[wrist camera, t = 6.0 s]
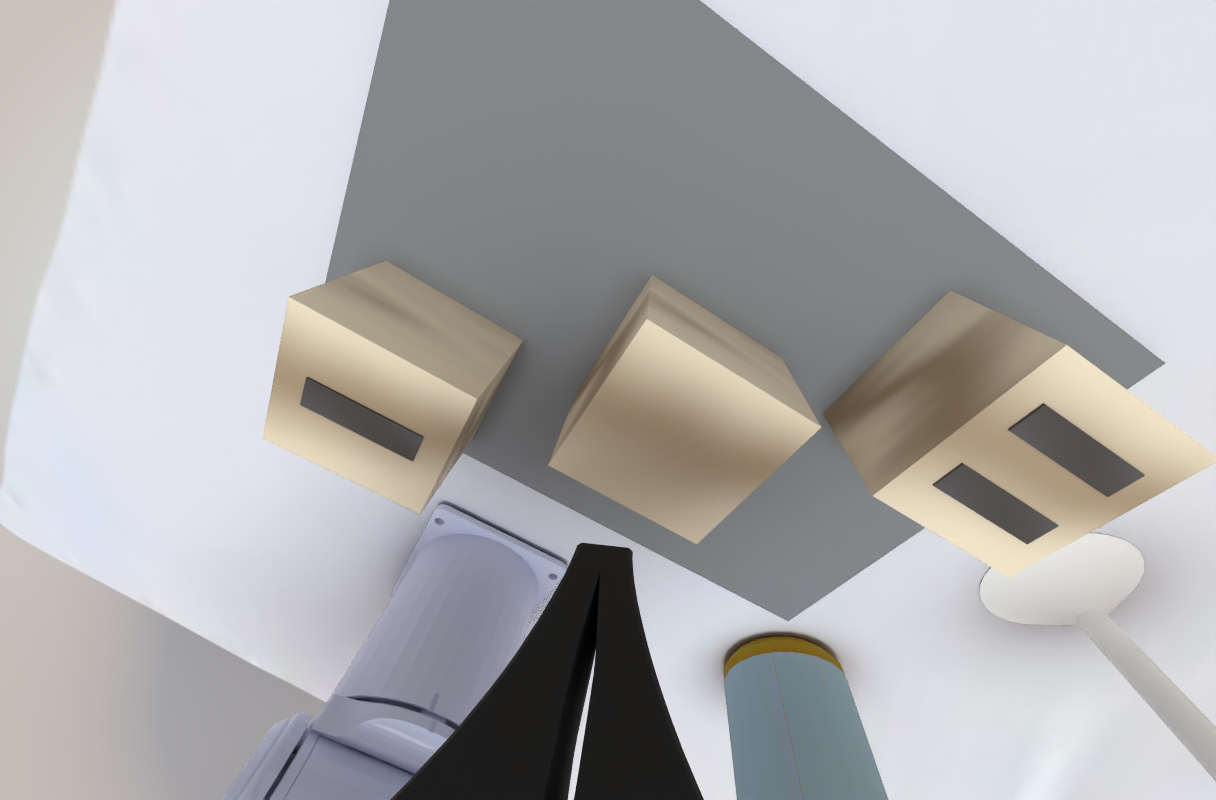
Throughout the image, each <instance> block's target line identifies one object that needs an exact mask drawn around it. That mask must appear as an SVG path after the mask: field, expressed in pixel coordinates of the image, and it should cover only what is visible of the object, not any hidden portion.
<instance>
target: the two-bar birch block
mask: <svg viewBox="0 0 1216 800" xmlns="http://www.w3.org/2000/svg"><path fill="white" fill-rule="evenodd" d="M822 414H823V415H824V417H825V419H826V420H827V422H828V423H829V425H830V427H831V428H832V430H833V432H834V433H835V435H836V437H837V438H838V440H839V442H840V443H841V445H842V446H843V448H844V450H845V451H846V453H847V455H848V456H849V458H850V460H851V461H852V463H853V464H854V466H855V468H856V469H857V471H858V473H859V474H860V476H861V478H862V479H863V481H864V482H865V484H866V486H867V487H868V489H869V491H870V492H871V494H872V496H874V497H875V498H877V499H879V500H880V501H882V502H884V503H885V504H887V505H889V506H890V507H892V508H894V509H895V510H897V511H899V512H900V513H902V514H904V515H905V516H907V517H909V518H910V519H912V520H914V521H915V522H917V523H919V524H920V525H922V526H924V527H925V528H927V529H929V530H930V531H932V532H934V533H935V534H937V535H939V536H940V537H942V538H944V539H945V540H947V541H948V542H950V543H952V544H953V545H955V546H957V547H958V548H960V549H962V550H963V551H965V552H967V553H968V554H970V555H972V556H973V557H975V558H977V559H978V560H980V561H982V562H983V563H985V564H987V565H988V566H990V567H992V568H993V569H995V570H997V571H998V572H1000V573H1002V574H1003V575H1005V576H1007V577H1008V578H1010V577H1011V576H1013V575H1015V574H1017V573H1019V572H1020V571H1022V570H1024V569H1026V568H1028V567H1029V566H1031V565H1033V564H1035V563H1037V562H1038V561H1040V560H1042V559H1044V558H1045V557H1047V556H1049V555H1051V554H1053V553H1054V552H1056V551H1058V550H1060V549H1062V548H1063V547H1065V546H1067V545H1069V544H1071V543H1072V542H1074V541H1076V540H1078V539H1079V538H1081V537H1083V536H1085V535H1087V534H1088V533H1090V532H1092V531H1094V530H1096V529H1097V528H1099V527H1101V526H1103V525H1105V524H1106V523H1108V522H1110V521H1112V520H1113V519H1115V518H1117V517H1119V516H1121V515H1122V514H1124V513H1126V512H1128V511H1130V510H1131V509H1133V508H1135V507H1137V506H1139V505H1140V504H1142V503H1144V502H1146V501H1147V500H1149V499H1151V498H1153V497H1155V496H1156V495H1158V494H1160V493H1162V492H1164V491H1165V490H1167V489H1169V488H1171V487H1173V486H1174V485H1176V484H1178V483H1180V482H1181V481H1183V480H1185V479H1187V478H1189V477H1190V476H1192V475H1194V474H1196V473H1198V472H1199V471H1201V470H1203V469H1205V468H1207V467H1208V466H1210V465H1212V464H1214V463H1215V462H1216V456H1215V455H1214V454H1212V453H1211V452H1210V451H1208V450H1207V449H1206V448H1204V447H1203V446H1202V445H1200V444H1199V443H1198V442H1196V441H1195V440H1194V439H1192V438H1191V437H1190V436H1188V435H1187V434H1186V433H1184V432H1183V431H1182V430H1180V429H1179V428H1178V427H1176V426H1175V425H1174V424H1172V423H1171V422H1169V421H1168V420H1167V419H1165V418H1164V417H1163V416H1161V415H1160V414H1159V413H1157V412H1156V411H1155V410H1153V409H1152V408H1151V407H1149V406H1148V405H1147V404H1145V403H1144V402H1143V401H1141V400H1140V399H1139V398H1137V397H1136V396H1135V395H1133V394H1132V393H1131V392H1129V391H1128V390H1127V389H1125V388H1124V387H1123V386H1121V385H1120V384H1119V383H1117V382H1116V381H1115V380H1113V379H1112V378H1111V377H1109V376H1108V375H1107V374H1105V373H1104V372H1103V371H1101V370H1100V369H1099V368H1097V367H1096V366H1095V365H1093V364H1092V363H1091V362H1089V361H1088V360H1087V359H1085V358H1084V357H1083V356H1081V355H1080V354H1078V353H1077V352H1076V351H1074V350H1073V349H1072V348H1070V347H1069V346H1068V345H1066V344H1064V343H1062V342H1060V341H1058V340H1055V339H1053V338H1051V337H1049V336H1047V335H1045V334H1043V333H1041V332H1038V331H1036V330H1034V329H1032V328H1030V327H1028V326H1026V325H1023V324H1021V323H1019V322H1017V321H1015V320H1013V319H1011V318H1008V317H1006V316H1004V315H1002V314H1000V313H998V312H996V311H994V310H991V309H989V308H987V307H985V306H983V305H981V304H979V303H976V302H974V301H972V300H970V299H968V298H966V297H964V296H961V295H959V294H957V293H955V292H953V291H950V292H949V293H947V294H946V295H945V296H944V297H943V298H942V299H941V300H940V301H939V302H938V303H937V304H936V305H935V306H934V307H933V308H932V309H931V310H930V311H929V312H928V313H927V314H926V315H925V316H923V317H922V318H921V319H920V320H919V321H918V322H917V323H916V324H915V325H914V326H913V327H912V328H911V329H910V330H909V331H908V332H907V333H906V334H905V335H904V336H903V337H902V338H900V339H899V340H898V341H897V342H896V343H895V344H894V345H893V346H892V347H891V348H890V349H889V350H888V351H887V352H886V353H885V354H884V355H883V356H882V357H881V358H880V359H879V360H878V361H876V362H875V363H874V364H873V365H872V366H871V367H870V368H869V369H868V370H867V371H866V372H865V373H864V374H863V375H862V376H861V377H860V378H859V379H858V380H857V381H856V382H855V383H854V384H852V385H851V386H850V387H849V388H848V389H847V390H846V391H845V392H844V393H843V394H842V395H841V396H840V397H839V398H838V399H837V400H836V401H835V402H834V403H833V404H832V405H831V406H830V407H828V408H827V409H826V410H825V411H824V412H823V413H822Z"/></svg>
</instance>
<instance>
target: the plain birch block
mask: <svg viewBox="0 0 1216 800" xmlns="http://www.w3.org/2000/svg"><path fill="white" fill-rule="evenodd" d="M820 428H821V425H820V424H819V422H818V420H817V419H816V417H815V415H814V413H813V412H812V410H811V408H810V406H809V405H808V403H807V401H806V399H805V398H804V396H803V394H802V392H801V391H800V389H799V387H798V386H797V384H796V382H795V380H794V379H793V377H792V375H791V373H790V372H789V370H788V368H787V366H786V365H785V363H784V361H783V359H782V358H781V357H780V356H778V355H777V354H775V353H773V352H772V351H770V350H769V349H767V348H766V347H764V346H762V345H761V344H759V343H758V342H756V341H755V340H753V339H752V338H750V337H748V336H747V335H745V334H744V333H742V332H741V331H739V330H738V329H736V328H734V327H733V326H731V325H730V324H728V323H727V322H725V321H723V320H722V319H720V318H719V317H717V316H716V315H714V314H713V313H711V312H709V311H708V310H706V309H705V308H703V307H702V306H700V305H698V304H697V303H695V302H694V301H692V300H691V299H689V298H688V297H686V296H684V295H683V294H681V293H680V292H678V291H677V290H675V289H674V288H672V287H670V286H669V285H667V284H666V283H664V282H663V281H661V280H659V279H658V278H656V277H655V276H653V275H652V276H651V277H650V279H649V280H648V282H647V283H646V285H645V286H644V288H643V290H642V291H641V293H640V294H639V296H638V297H637V299H636V300H635V302H634V304H633V305H632V307H631V308H630V310H629V311H628V313H627V314H626V316H625V318H624V319H623V321H622V322H621V324H620V325H619V327H618V329H617V330H616V332H615V333H614V335H613V336H612V338H611V339H610V341H609V343H608V344H607V346H606V347H605V349H604V350H603V352H602V353H601V355H600V357H599V358H598V360H597V361H596V363H595V364H594V366H593V367H592V369H591V371H590V372H589V374H588V375H587V377H586V378H585V380H584V381H583V383H582V385H581V386H580V388H579V389H578V391H577V392H576V394H575V397H574V399H573V402H572V404H571V407H570V410H569V412H568V415H567V417H566V420H565V423H564V425H563V428H562V430H561V433H560V436H559V438H558V441H557V444H556V446H555V449H554V451H553V454H552V457H551V459H550V462H549V464H548V466H550V467H552V468H554V469H556V470H558V471H560V472H562V473H563V474H565V475H567V476H569V477H571V478H573V479H575V480H577V481H578V482H580V483H582V484H584V485H586V486H588V487H590V488H592V489H593V490H595V491H597V492H599V493H601V494H603V495H605V496H607V497H609V498H610V499H612V500H614V501H616V502H618V503H620V504H622V505H624V506H625V507H627V508H629V509H631V510H633V511H635V512H637V513H639V514H641V515H642V516H644V517H646V518H648V519H650V520H652V521H654V522H656V523H657V524H659V525H661V526H663V527H665V528H667V529H669V530H671V531H672V532H674V533H676V534H678V535H680V536H682V537H684V538H686V539H688V540H689V541H691V542H693V543H695V544H698V543H699V542H700V541H701V540H702V539H703V538H704V537H705V536H706V535H707V534H708V533H709V532H710V531H711V530H713V529H714V528H715V527H716V526H717V525H718V524H719V523H720V522H721V521H722V520H723V519H724V518H725V517H726V516H727V515H729V514H730V513H731V512H732V511H733V510H734V509H735V508H736V507H737V506H738V505H739V504H740V503H741V502H742V501H743V500H745V499H746V498H747V497H748V496H749V495H750V494H751V493H752V492H753V491H754V490H755V489H756V488H757V487H758V486H759V485H760V484H762V483H763V482H764V481H765V480H766V479H767V478H768V477H769V476H770V475H771V474H772V473H773V472H774V471H775V470H776V469H778V468H779V467H780V466H781V465H782V464H783V463H784V462H785V461H786V460H787V459H788V458H789V457H790V456H791V455H792V454H794V453H795V452H796V451H797V450H798V449H799V448H800V447H801V446H802V445H803V444H804V443H805V442H806V441H807V440H808V439H809V438H811V437H812V436H813V435H814V434H815V433H816V432H817V431H818V430H819V429H820Z"/></svg>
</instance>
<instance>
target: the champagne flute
mask: <svg viewBox="0 0 1216 800" xmlns="http://www.w3.org/2000/svg"><path fill="white" fill-rule="evenodd" d="M1143 573H1144V559H1143V557H1142V555H1141V553H1140V551H1139V550H1138V549H1137V548H1136V547H1135V546H1134V545H1132V544H1130V543H1128V542H1127V541H1125V540H1123V539H1120V538H1117V537H1113V536H1110V535H1104V534H1096V533H1088V534H1087V535H1085V536H1083V537H1081V538H1079V539H1078V540H1076V541H1074V542H1072V543H1071V544H1069V545H1067V546H1065V547H1063V548H1062V549H1060V550H1058V551H1056V552H1054V553H1053V554H1051V555H1049V556H1047V557H1045V558H1044V559H1042V560H1040V561H1038V562H1037V563H1035V564H1033V565H1031V566H1029V567H1028V568H1026V569H1024V570H1022V571H1020V572H1019V573H1017V574H1015V575H1013V576H1011V577H1010V578H1008V577H1007V576H1005V575H1003V574H1002V573H1000V572H998V571H997V570H995V569H993V568H992V567H991V568H990V569H989V571H988V572H987V573H986V574H985V576H984V577H983V580H982V582H981V584H980V591H979V595H980V599H981V602H982V603H983V605H984V606H985V608H986V609H987V610H989V611H990V612H991V613H992V614H994V615H996V616H998V617H1000V618H1002V619H1004V620H1008V621H1011V622H1014V623H1021V624H1030V625H1068V626H1079V627H1080V628H1081V629H1082V630H1083V631H1084V632H1085V633H1086V635H1087V636H1088V637H1089V638H1090V639H1091V640H1092V641H1093V642H1094V644H1095V645H1096V646H1097V647H1098V648H1099V649H1100V650H1101V652H1102V653H1103V654H1104V655H1105V656H1106V657H1107V658H1108V660H1109V661H1110V662H1111V663H1112V664H1113V665H1114V666H1115V667H1116V669H1117V670H1118V671H1119V672H1120V673H1121V674H1122V675H1123V677H1124V678H1125V679H1126V680H1127V681H1128V682H1129V683H1130V685H1131V686H1132V687H1133V688H1134V689H1135V690H1136V691H1137V692H1138V694H1139V695H1140V696H1141V697H1142V698H1143V699H1144V700H1145V702H1146V703H1147V704H1148V705H1149V706H1150V707H1151V708H1152V709H1153V711H1154V712H1155V713H1156V714H1157V715H1158V716H1159V717H1160V719H1161V720H1162V721H1163V722H1164V723H1165V724H1166V725H1167V727H1168V728H1169V729H1170V730H1171V731H1172V732H1173V733H1174V734H1175V736H1176V737H1177V738H1178V739H1179V740H1180V741H1181V742H1182V744H1183V745H1184V746H1185V747H1186V748H1187V749H1188V750H1189V752H1190V753H1191V754H1192V755H1193V756H1194V757H1195V758H1196V759H1197V761H1198V762H1199V763H1200V764H1201V765H1202V766H1203V767H1204V769H1205V770H1206V771H1207V772H1208V773H1209V774H1210V775H1211V776H1212V778H1213V779H1214V780H1215V781H1216V726H1215V725H1214V724H1213V723H1212V722H1211V721H1210V720H1209V719H1208V718H1207V717H1206V716H1205V715H1204V714H1203V713H1202V712H1201V711H1200V710H1199V709H1198V708H1197V707H1196V706H1195V705H1194V704H1193V703H1192V702H1191V700H1190V699H1189V698H1188V697H1187V696H1186V695H1185V694H1184V693H1183V692H1182V691H1181V690H1180V689H1179V688H1178V687H1177V686H1176V685H1175V684H1174V683H1173V682H1172V681H1171V680H1170V679H1169V678H1168V677H1167V676H1166V675H1165V674H1164V673H1163V671H1162V670H1161V669H1160V668H1159V667H1158V666H1157V665H1156V664H1155V663H1154V662H1153V661H1152V660H1151V659H1150V658H1149V657H1148V656H1147V655H1146V654H1145V653H1144V652H1143V651H1142V650H1141V649H1140V648H1139V647H1138V646H1137V645H1136V643H1135V642H1134V641H1133V640H1132V639H1131V638H1130V637H1129V636H1128V635H1127V634H1126V633H1125V632H1124V631H1123V630H1122V629H1121V628H1120V627H1119V626H1118V625H1117V624H1116V623H1115V622H1114V621H1113V620H1112V619H1111V618H1110V617H1109V615H1110V614H1111V613H1112V612H1113V611H1114V610H1115V609H1116V607H1117V606H1118V605H1119V604H1120V603H1121V602H1122V601H1123V600H1124V599H1125V598H1126V597H1127V596H1128V595H1129V594H1130V593H1131V592H1132V591H1133V590H1134V589H1135V587H1136V586H1137V585H1138V583H1139V582H1140V580H1141V578H1142V575H1143Z"/></svg>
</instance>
